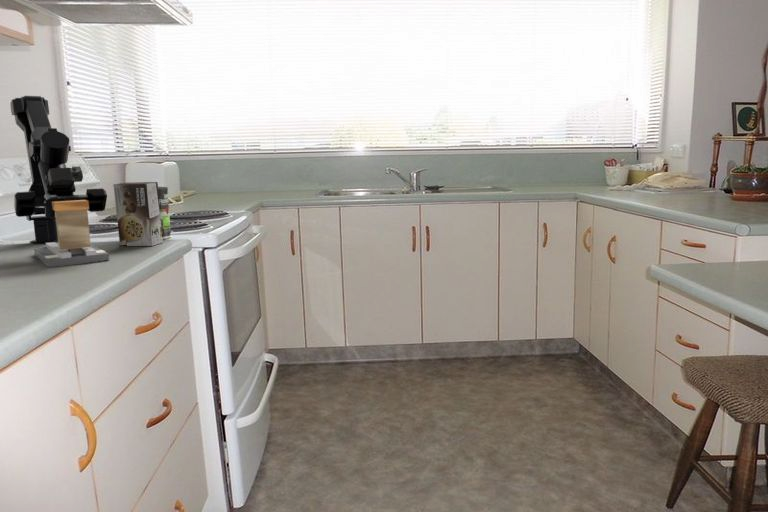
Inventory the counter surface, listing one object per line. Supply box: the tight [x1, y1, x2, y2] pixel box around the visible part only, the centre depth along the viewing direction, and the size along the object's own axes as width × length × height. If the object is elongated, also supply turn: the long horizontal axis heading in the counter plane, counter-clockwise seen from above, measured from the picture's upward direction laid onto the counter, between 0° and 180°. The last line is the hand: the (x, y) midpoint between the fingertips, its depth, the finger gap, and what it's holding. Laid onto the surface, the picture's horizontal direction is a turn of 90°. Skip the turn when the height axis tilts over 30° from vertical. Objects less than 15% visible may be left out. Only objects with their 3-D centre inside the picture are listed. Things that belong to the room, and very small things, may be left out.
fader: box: [52, 200, 92, 255], centre depth 132 cm, size 4×7×12 cm, turn 127°
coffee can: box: [158, 186, 172, 240], centre depth 166 cm, size 10×10×14 cm
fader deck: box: [33, 242, 110, 268], centre depth 138 cm, size 20×12×3 cm, turn 37°
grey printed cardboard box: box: [112, 181, 164, 247], centre depth 155 cm, size 9×6×16 cm
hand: (69, 230), depth 135 cm, fingers closed
